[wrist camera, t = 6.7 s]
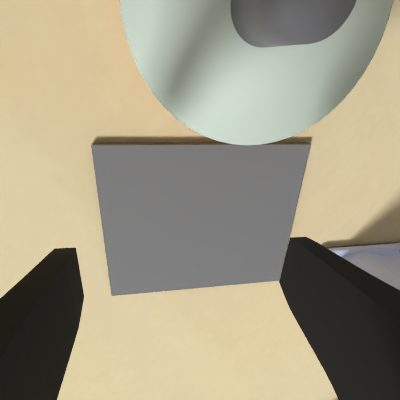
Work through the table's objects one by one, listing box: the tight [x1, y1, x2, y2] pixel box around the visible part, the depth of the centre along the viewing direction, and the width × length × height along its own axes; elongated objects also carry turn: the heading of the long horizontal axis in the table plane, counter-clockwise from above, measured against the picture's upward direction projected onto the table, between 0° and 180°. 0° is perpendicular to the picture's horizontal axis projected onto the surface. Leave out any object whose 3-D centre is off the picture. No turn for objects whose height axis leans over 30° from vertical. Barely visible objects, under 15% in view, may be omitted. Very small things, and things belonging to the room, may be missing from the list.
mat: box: [91, 143, 310, 296], centre depth 20 cm, size 14×12×1 cm
